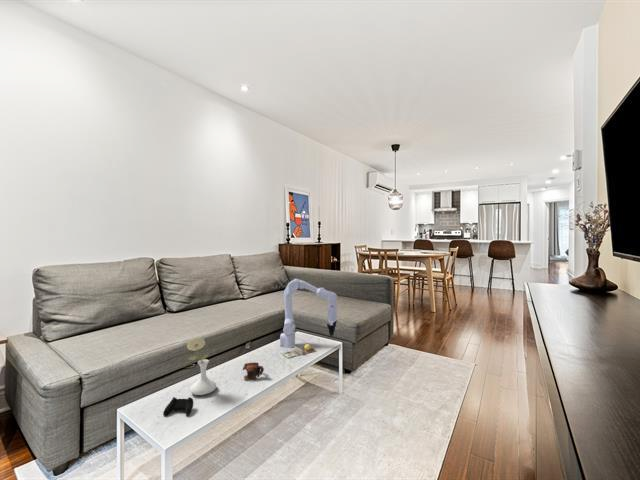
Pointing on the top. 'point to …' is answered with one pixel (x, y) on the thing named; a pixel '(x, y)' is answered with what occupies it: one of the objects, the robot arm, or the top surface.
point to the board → (297, 352)
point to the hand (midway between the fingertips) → (332, 333)
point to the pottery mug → (252, 371)
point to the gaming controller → (179, 406)
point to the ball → (307, 347)
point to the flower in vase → (203, 383)
